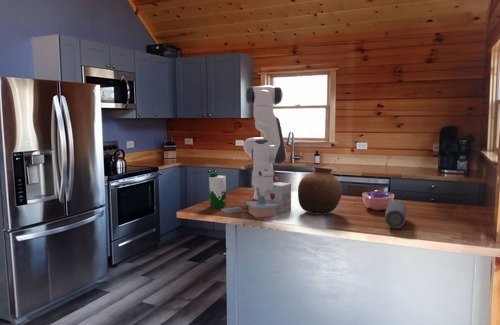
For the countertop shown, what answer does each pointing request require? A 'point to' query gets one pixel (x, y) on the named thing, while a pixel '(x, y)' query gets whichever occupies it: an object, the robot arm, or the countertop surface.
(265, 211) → the dish
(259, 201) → the lid
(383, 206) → the cell model
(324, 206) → the pottery
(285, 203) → the supplement box
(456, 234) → the countertop surface
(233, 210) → the mat
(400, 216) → the bluetooth speaker
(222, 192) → the milk carton
